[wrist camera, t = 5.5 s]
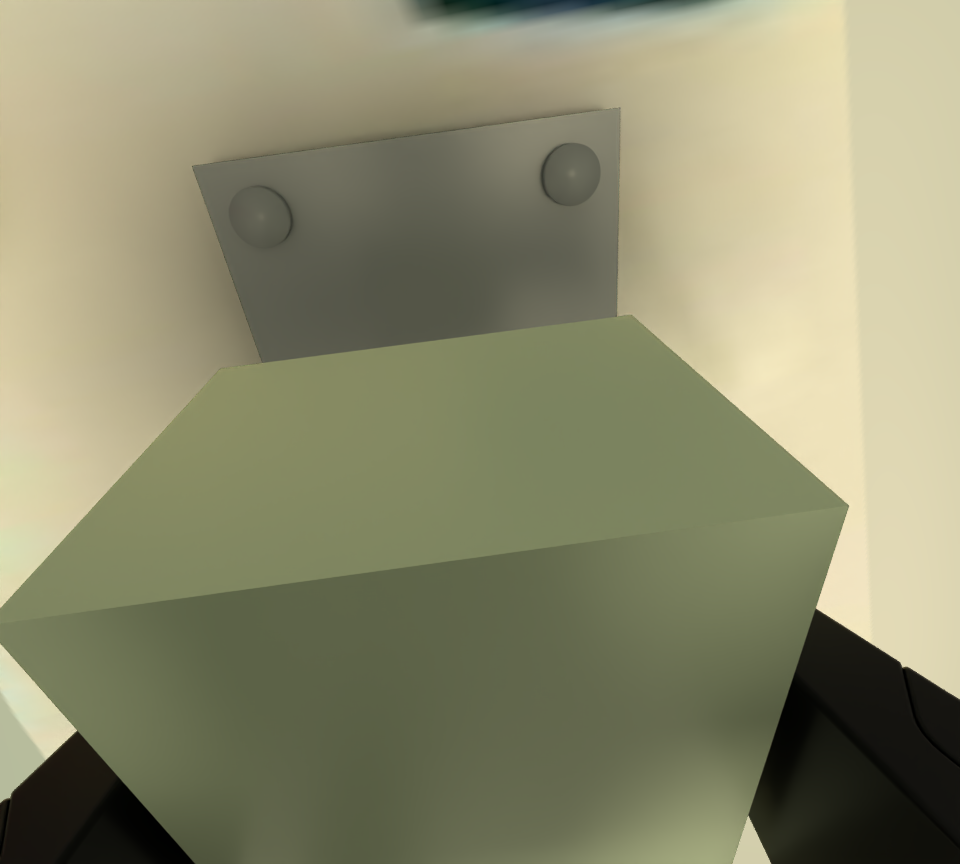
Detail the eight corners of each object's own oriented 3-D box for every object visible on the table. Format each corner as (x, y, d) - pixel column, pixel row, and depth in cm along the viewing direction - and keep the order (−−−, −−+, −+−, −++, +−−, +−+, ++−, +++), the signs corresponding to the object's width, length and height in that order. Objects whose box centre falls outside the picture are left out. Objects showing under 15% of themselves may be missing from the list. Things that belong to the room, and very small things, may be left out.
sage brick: (619, 599, 10) (729, 871, 7) (327, 641, 10) (264, 942, 6) (631, 315, 7) (848, 506, 4) (220, 368, 7) (-16, 626, 3)
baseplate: (603, 443, 22) (617, 469, 20) (320, 484, 21) (311, 514, 20) (604, 110, 16) (626, 106, 14) (212, 163, 15) (184, 166, 14)
